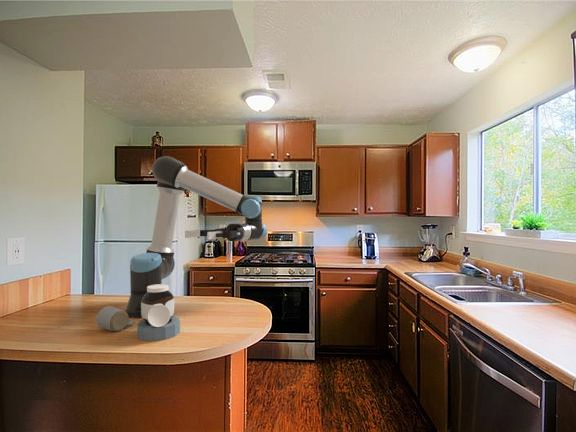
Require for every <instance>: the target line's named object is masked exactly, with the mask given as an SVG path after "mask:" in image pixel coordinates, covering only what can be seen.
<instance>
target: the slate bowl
mask: <svg viewBox="0 0 576 432" xmlns="http://www.w3.org/2000/svg"><path fill="white" fill-rule="evenodd" d="M180 324H181V322H180V317H178V316H176V315H173V316H172V317H171V318H170V319H169V321H168V323H167V324H165V325H164V326H161V327H154V326H152V325H150V324H149V323H147V322H146V321H144V320H143V319H142V320H140V321H138V322H137V326H136V328H137V330H136V332H137V339H139V340H141V341H143V342H158V341H159V342H160V341H165V340H168V339H171V338H175V337H176V336H178V335H179V334H180V333H181V331H180V330H181V325H180Z"/></svg>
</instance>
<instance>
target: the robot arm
mask: <svg viewBox="0 0 576 432" xmlns="http://www.w3.org/2000/svg"><path fill="white" fill-rule="evenodd" d="M151 171H152V175H153V176H154V179H155V180H157V184H156V188H157V189H158V191H159V196H158V200H157V206H156V207H157V209H156V214H155V218H154V219H155V220H154V226H153V233H152V237H151V244H150V245H149V246H148V247H146V252H145V253H141V254H140V253H139V254H136V255H134V256H132V257H131V258H130V263H129V270H130V271H129V273H130V274H129V275H130V277H129V278H130V295H129V299H128V301H127V305H126V307H125V312H126V313H127V314H128V317H129V318H133V319H134V318H135V319H138V318H139V319H141V318H142V316H141V301H142V298H143V296H144V295H145V294H146V293H147V287H148V286H150V285H156V284H163V283H162V280H164V279H167V278H168V277H169V276H171V274H172V273H173V272H174V269H175V267H176V261H175V258H174V256H175V250H174V249H173V247H172V246H173V241H174V235H175V227H176V221H177V216H178V209H179V204H180V197H181V195H182V194H184V193H185V190H188V191H189V192H192V193H193V194H196V195H198V196H201V197H203V198H205V199H207V200H209V201H212V202H214V203H216V204H218V205H220V206H223V207H225V208H227V209H229V210H232V211H234V212H236V213H238V214H240V215H243V216H244V218H245V219H244V221H245V222H244V223H243V222H240V223H230V224H228V225H227V226H226V227H223V228H215V229H196V230H195V229H193V230H185V231H184V238H185V239H189V238H190V239H191V238H198V239H200V238H201V237H207V239H206V240H216V239H217V240H219V239H227V240H228V241H229V242H231V243H233V242H242V243H244V242H245V241H255V240H261V239H263V238H265V237H266V236H267V233H268V229H267V228H268V227H267V226H266V224H265V223H264V222H263V219H262V217H263V216H262V215H263V213H262V212H263V202H262V201H263V200H262V197H261V196H253V195H251V196H246V195H244V194H242V193H239V192H237V191H236V190H234V189H232V188H229V187H227V186H224V185H222V184H221V183H218V182H215V181H213V180H212V179H209V178H207V177H205V176H202V175H200V174H198V173H196V172H194V171H192V170H189V169H188V166H186V164H185V163H184V162H182V161H181V160H178V159H176V158H174V157H172V156H169V155H164V156H160V157H158V158H157V159H155V161H154V162H153V164H152V169H151ZM142 319H143V318H142Z"/></svg>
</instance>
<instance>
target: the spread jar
mask: <svg viewBox="0 0 576 432" xmlns="http://www.w3.org/2000/svg"><path fill="white" fill-rule="evenodd" d="M169 288H170V287H169V284H165V283H162V284H156V285H150V286H148V287H147V293H146V294H145V295H144V296H143V298H142V301H141V316H142V320H144V321H146V322H147V323H149V324H150V325H152V326H154V327H161V326H164V325H165V324H167V323H168V321H169V319H170V318H171V317H172V316H174V314H175V298H174V294H172V292H171V291H170V290H169Z"/></svg>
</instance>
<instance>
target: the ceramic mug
mask: <svg viewBox="0 0 576 432" xmlns="http://www.w3.org/2000/svg"><path fill="white" fill-rule="evenodd" d="M133 323H134V321H133V320H132V319H130V317H128V314H127V313H126V310H123V309H121V308H118V307H115V306H112V305H107V306H104V307H103V308H101V309H100V310H99V311H98V312H97V315H96V325H97V326H98V327H99V328H100V329H103V330H107V331H111V332H116V333H117V332H121V331H123V330H124V329H125V328H126V326H133Z"/></svg>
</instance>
